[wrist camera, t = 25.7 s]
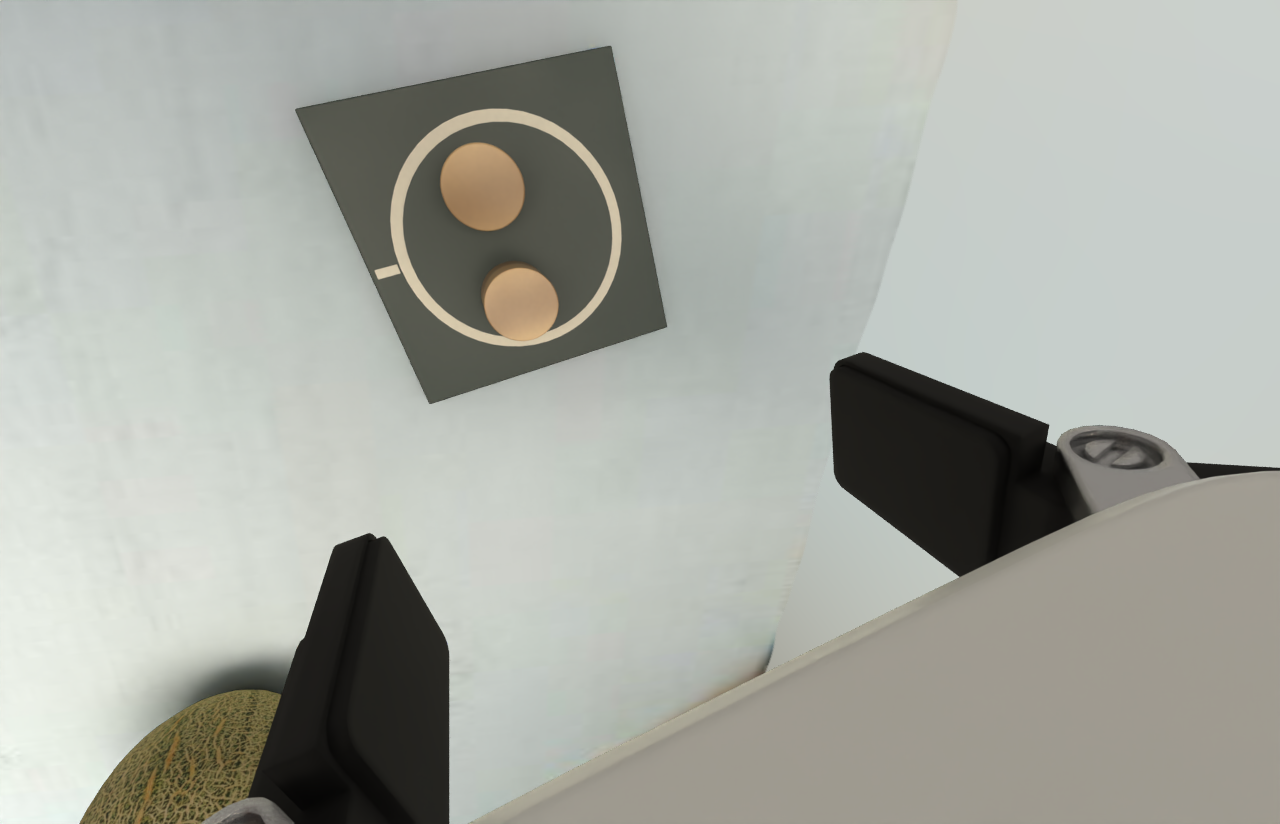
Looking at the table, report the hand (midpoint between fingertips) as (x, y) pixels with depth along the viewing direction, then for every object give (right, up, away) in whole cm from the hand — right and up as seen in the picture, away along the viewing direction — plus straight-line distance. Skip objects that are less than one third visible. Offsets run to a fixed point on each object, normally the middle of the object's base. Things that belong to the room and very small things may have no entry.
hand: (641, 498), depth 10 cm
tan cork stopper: (-7, +9, +20) cm, 23 cm away
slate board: (-8, +12, +20) cm, 25 cm away
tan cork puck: (-9, +14, +17) cm, 24 cm away
